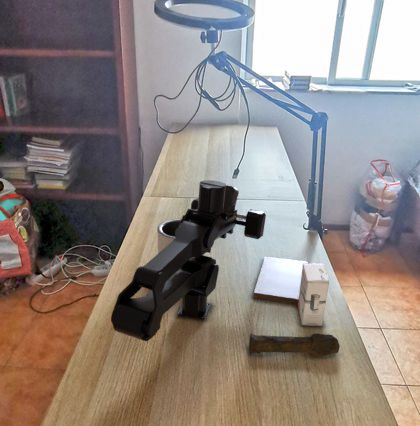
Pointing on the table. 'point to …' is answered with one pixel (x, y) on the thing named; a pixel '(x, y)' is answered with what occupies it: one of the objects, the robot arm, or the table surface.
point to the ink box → (313, 294)
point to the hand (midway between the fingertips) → (239, 210)
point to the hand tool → (295, 344)
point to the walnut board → (279, 280)
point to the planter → (167, 233)
